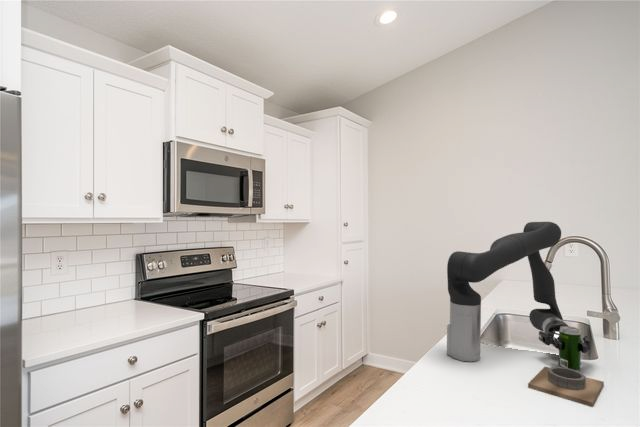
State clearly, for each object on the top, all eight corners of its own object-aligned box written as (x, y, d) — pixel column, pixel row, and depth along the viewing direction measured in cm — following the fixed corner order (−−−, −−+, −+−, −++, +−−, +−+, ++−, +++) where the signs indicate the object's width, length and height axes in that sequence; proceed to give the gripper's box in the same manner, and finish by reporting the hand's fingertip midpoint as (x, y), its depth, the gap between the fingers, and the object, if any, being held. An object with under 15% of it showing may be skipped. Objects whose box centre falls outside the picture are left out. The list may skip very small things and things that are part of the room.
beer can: (575, 374, 109) (575, 332, 109) (555, 367, 114) (555, 327, 113) (583, 370, 112) (584, 329, 112) (563, 364, 116) (564, 324, 116)
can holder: (528, 387, 100) (528, 374, 100) (544, 369, 112) (544, 357, 112) (592, 406, 91) (592, 392, 91) (603, 385, 102) (603, 372, 102)
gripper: (533, 317, 129) (544, 332, 113) (582, 322, 124) (602, 338, 108) (532, 339, 129) (544, 357, 113) (582, 345, 124) (601, 364, 108)
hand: (572, 348), depth 110 cm, fingers closed on beer can, 5 cm apart
